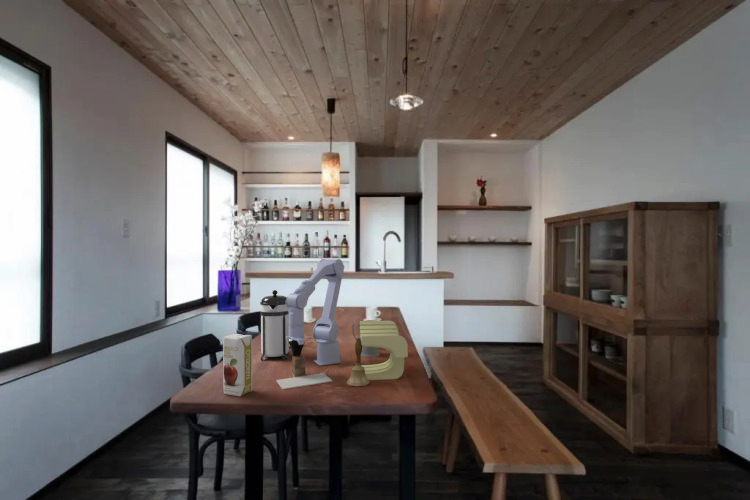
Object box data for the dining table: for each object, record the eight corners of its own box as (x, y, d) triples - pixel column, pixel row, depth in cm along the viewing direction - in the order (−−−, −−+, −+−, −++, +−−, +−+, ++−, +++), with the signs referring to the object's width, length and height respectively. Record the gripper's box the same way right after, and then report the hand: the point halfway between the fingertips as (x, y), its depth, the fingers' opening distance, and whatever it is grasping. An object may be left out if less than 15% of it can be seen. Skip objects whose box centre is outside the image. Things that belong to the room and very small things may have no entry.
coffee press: (300, 356, 178) (300, 289, 178) (270, 363, 166) (270, 292, 166) (278, 349, 189) (278, 287, 189) (248, 356, 177) (248, 290, 177)
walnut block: (302, 372, 153) (302, 355, 152) (305, 376, 149) (305, 358, 149) (292, 374, 151) (292, 356, 150) (294, 378, 147) (295, 359, 147)
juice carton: (235, 387, 138) (235, 332, 138) (255, 390, 134) (255, 334, 134) (219, 394, 131) (219, 337, 131) (240, 398, 127) (240, 339, 127)
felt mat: (323, 374, 152) (323, 372, 152) (332, 381, 143) (332, 380, 143) (276, 381, 144) (276, 380, 144) (282, 389, 135) (282, 388, 135)
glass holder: (373, 358, 174) (372, 324, 174) (347, 353, 181) (346, 321, 181) (383, 353, 181) (383, 321, 181) (357, 349, 189) (357, 318, 189)
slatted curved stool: (407, 386, 137) (407, 335, 137) (362, 388, 136) (361, 336, 136) (397, 362, 167) (397, 320, 167) (360, 363, 166) (359, 320, 166)
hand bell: (358, 377, 147) (358, 334, 147) (374, 382, 141) (374, 338, 142) (341, 383, 141) (341, 338, 141) (358, 388, 135) (357, 342, 135)
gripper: (281, 322, 157) (281, 356, 157) (290, 328, 144) (291, 365, 144) (299, 320, 160) (299, 354, 160) (309, 326, 147) (309, 363, 147)
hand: (296, 359), depth 152 cm, fingers closed
